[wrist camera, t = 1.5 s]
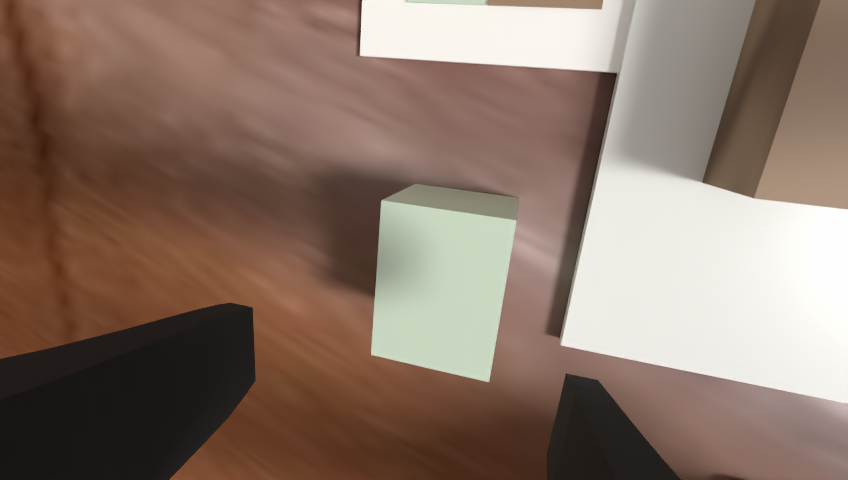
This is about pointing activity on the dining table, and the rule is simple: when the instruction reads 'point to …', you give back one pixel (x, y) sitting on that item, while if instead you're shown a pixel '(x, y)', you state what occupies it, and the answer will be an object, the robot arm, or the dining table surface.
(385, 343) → the sage brick
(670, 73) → the plate
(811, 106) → the walnut brick
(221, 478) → the dining table surface
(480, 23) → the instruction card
